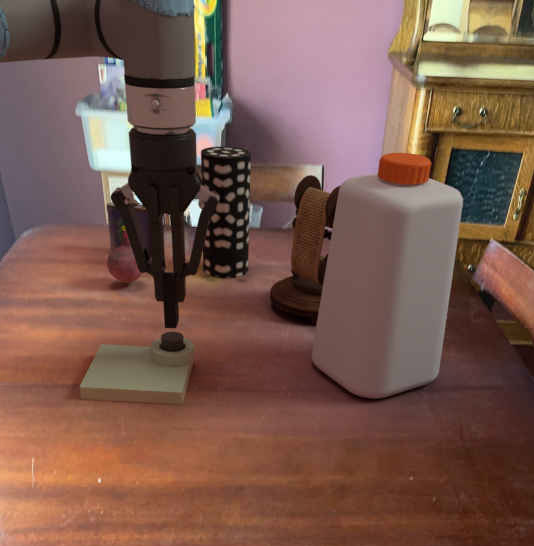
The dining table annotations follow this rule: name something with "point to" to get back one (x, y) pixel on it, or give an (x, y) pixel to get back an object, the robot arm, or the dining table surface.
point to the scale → (139, 374)
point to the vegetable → (123, 262)
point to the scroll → (307, 250)
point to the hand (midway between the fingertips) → (172, 323)
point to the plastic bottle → (388, 279)
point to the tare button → (172, 341)
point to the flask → (117, 223)
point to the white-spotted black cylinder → (227, 210)
